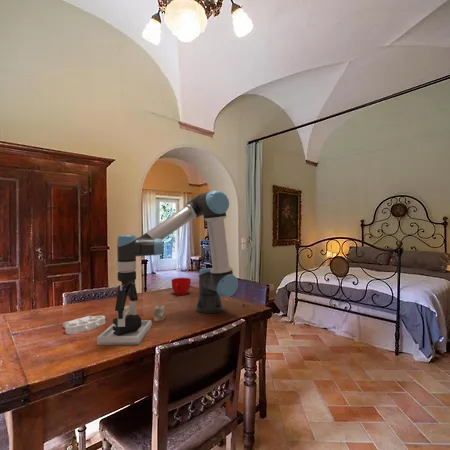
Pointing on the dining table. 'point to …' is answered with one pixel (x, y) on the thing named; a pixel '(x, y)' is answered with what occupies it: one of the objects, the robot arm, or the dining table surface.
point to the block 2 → (159, 313)
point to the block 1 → (125, 311)
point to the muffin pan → (83, 324)
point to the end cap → (127, 325)
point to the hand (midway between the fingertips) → (127, 320)
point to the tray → (124, 335)
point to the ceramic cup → (181, 285)
